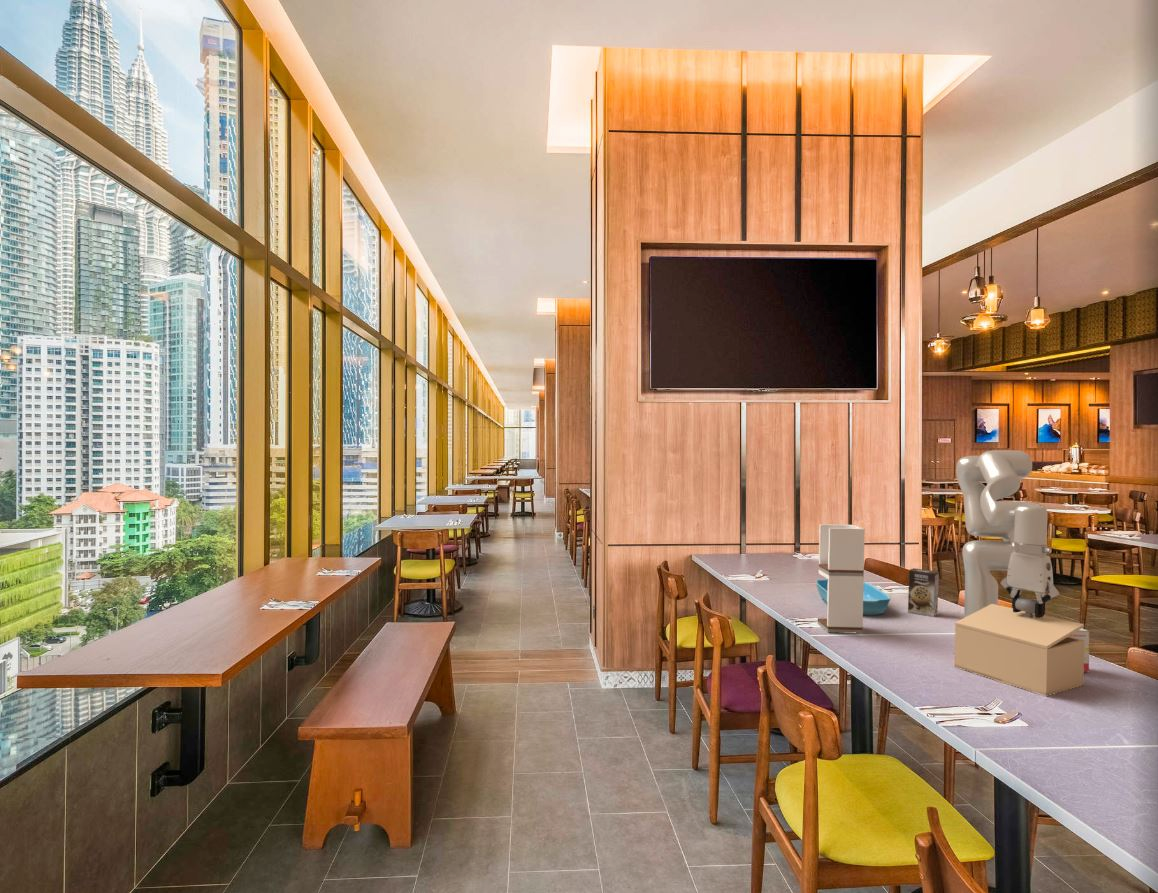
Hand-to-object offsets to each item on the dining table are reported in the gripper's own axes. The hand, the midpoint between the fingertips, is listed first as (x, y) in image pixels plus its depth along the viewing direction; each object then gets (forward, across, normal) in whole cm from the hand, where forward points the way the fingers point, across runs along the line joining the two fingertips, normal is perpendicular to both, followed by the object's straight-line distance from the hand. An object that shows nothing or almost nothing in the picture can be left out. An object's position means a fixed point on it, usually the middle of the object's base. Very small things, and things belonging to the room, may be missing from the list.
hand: (1028, 613), depth 186 cm
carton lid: (+3, 0, +5) cm, 6 cm away
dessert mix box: (+18, +54, -34) cm, 67 cm away
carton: (+17, 0, +5) cm, 17 cm away
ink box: (+17, -3, -15) cm, 23 cm away
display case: (+17, +54, +12) cm, 58 cm away
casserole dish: (+18, +75, -20) cm, 79 cm away
